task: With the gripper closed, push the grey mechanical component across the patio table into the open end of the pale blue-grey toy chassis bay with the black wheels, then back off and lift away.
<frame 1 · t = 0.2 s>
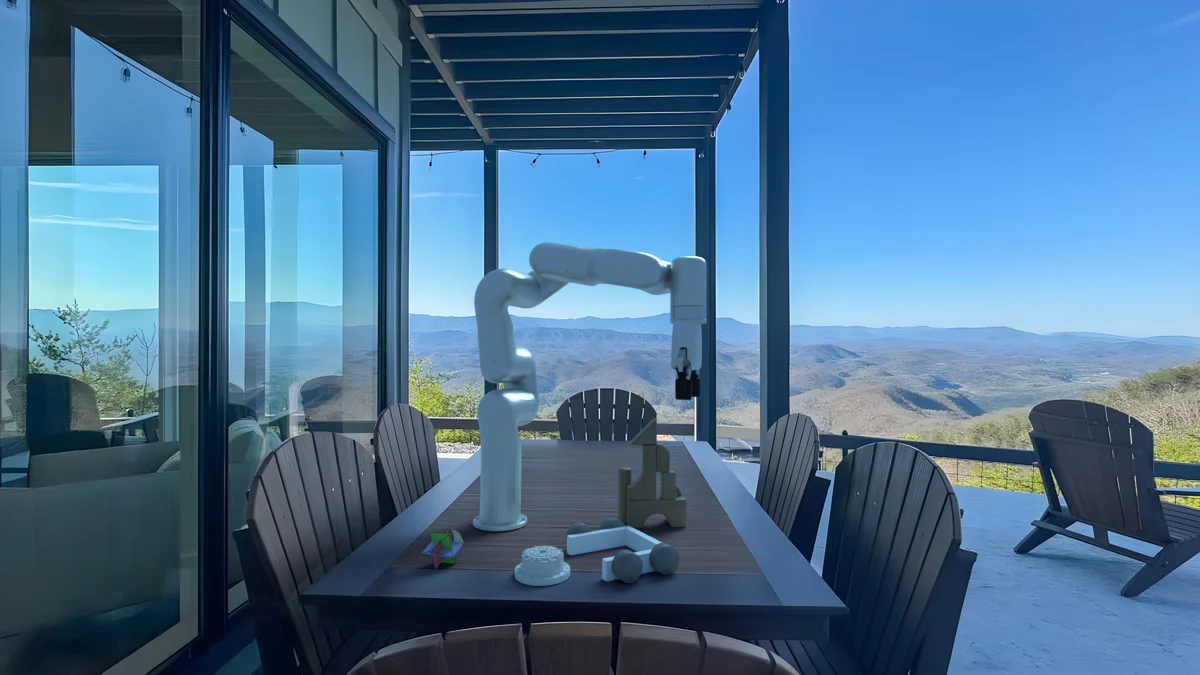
hand: (688, 398, 115), 31 cm above the table, tool pointing down, fingers open, 9 cm apart
wooden toy: (651, 524, 131), on the table
geometric puzzle: (442, 566, 103), on the table
mechanical component: (542, 577, 99), on the table
chassis bay: (615, 560, 107), on the table
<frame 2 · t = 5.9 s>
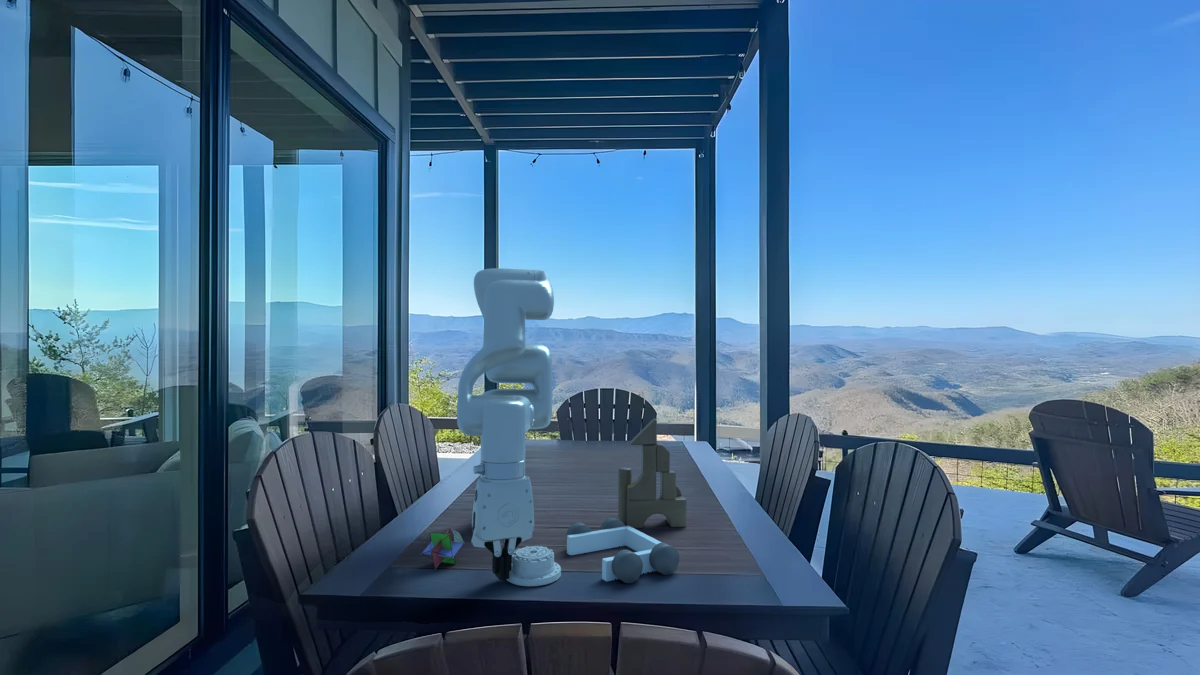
hand: (501, 576, 96), 1 cm above the table, tool pointing down, fingers closed
mechanical component: (533, 577, 99), on the table, touching gripper
everything else where it was.
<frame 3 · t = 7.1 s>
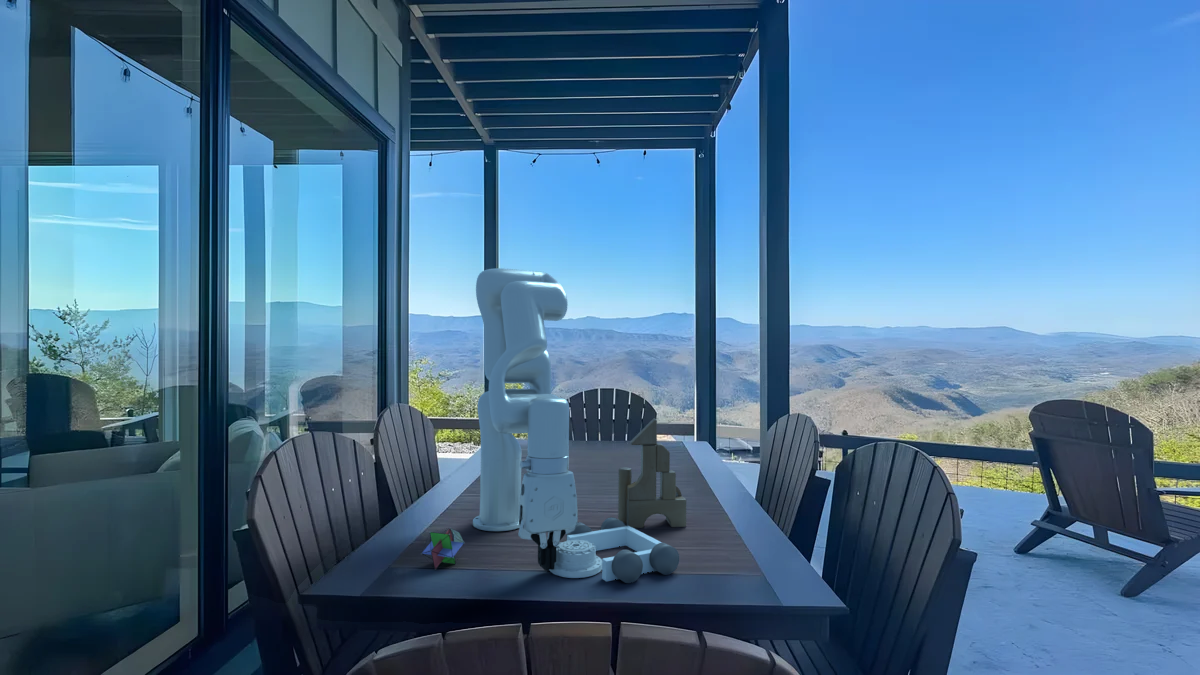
hand: (546, 567, 99), 1 cm above the table, tool pointing down, fingers closed
mechanical component: (575, 570, 103), on the table, touching gripper
everything else where it was.
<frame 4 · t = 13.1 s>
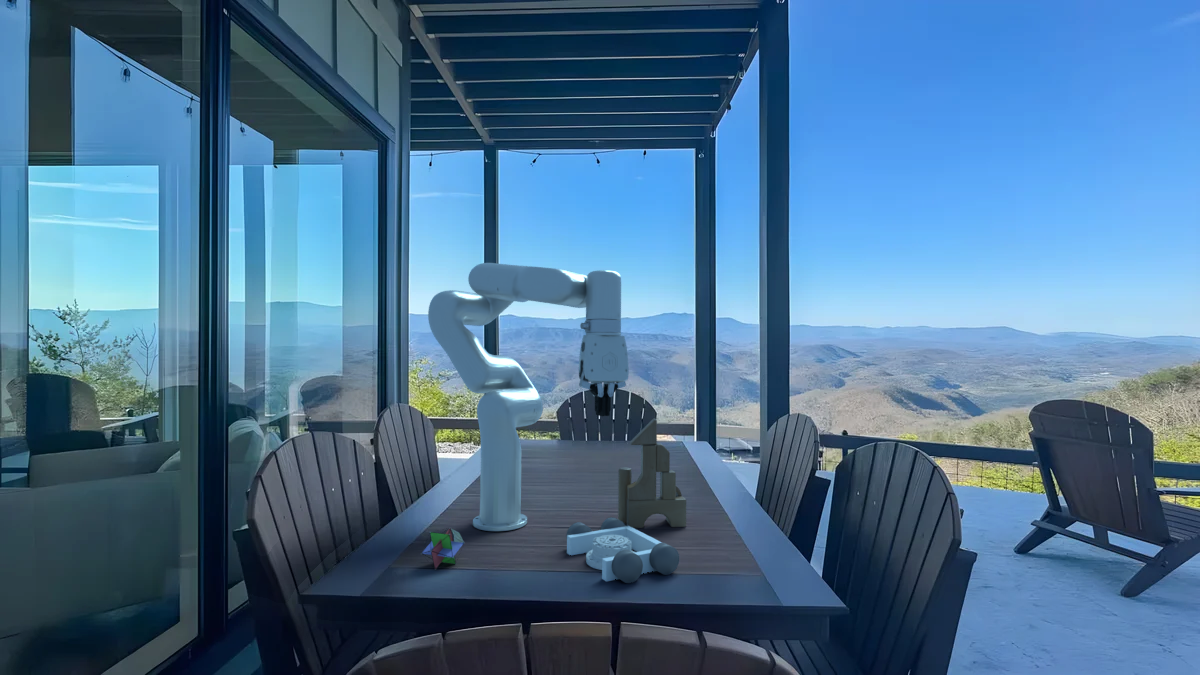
hand: (602, 415, 116), 27 cm above the table, tool pointing down, fingers closed
mechanical component: (612, 563, 106), on the table
everything else where it was.
at the end: mechanical component inside the target area on the chassis bay (1.3 cm from its centre), point -0.5 cm above the chassis bay's base; mechanical component moved 14.2 cm from its start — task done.
